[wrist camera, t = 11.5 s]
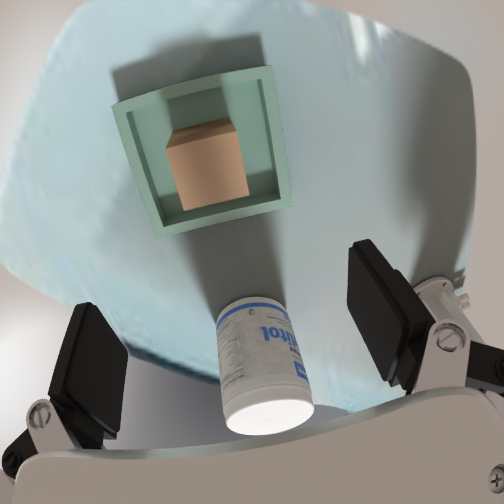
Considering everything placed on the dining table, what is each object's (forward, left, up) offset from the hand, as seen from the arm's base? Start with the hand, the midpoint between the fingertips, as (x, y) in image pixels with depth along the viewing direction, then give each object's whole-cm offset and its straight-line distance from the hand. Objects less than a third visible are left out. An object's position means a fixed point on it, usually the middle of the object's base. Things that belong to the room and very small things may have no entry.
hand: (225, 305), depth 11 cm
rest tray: (0, 0, -20) cm, 20 cm away
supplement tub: (0, +23, -20) cm, 30 cm away
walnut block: (0, 0, -19) cm, 19 cm away
